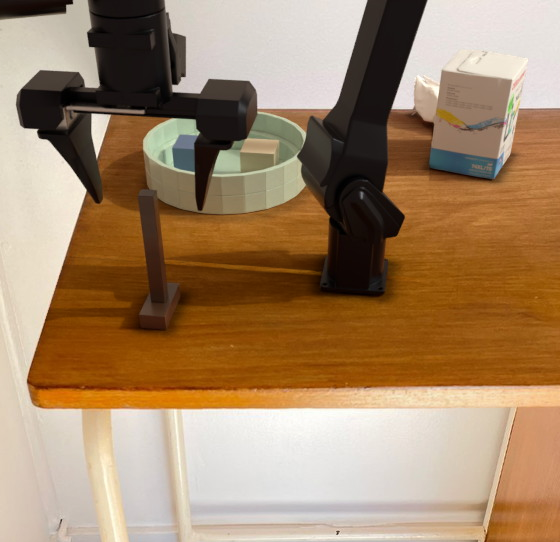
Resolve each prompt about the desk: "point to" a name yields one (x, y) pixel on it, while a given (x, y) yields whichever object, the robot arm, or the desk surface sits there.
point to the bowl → (226, 169)
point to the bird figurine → (426, 98)
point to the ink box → (477, 112)
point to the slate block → (184, 152)
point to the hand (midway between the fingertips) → (150, 205)
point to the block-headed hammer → (155, 267)
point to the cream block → (258, 154)
